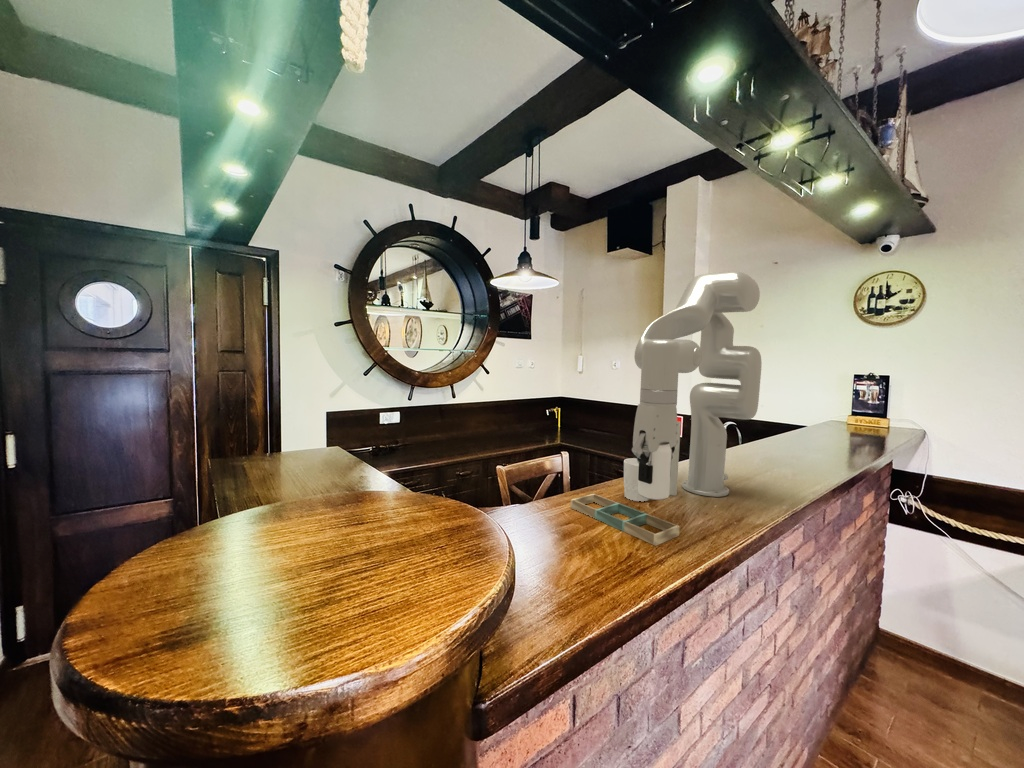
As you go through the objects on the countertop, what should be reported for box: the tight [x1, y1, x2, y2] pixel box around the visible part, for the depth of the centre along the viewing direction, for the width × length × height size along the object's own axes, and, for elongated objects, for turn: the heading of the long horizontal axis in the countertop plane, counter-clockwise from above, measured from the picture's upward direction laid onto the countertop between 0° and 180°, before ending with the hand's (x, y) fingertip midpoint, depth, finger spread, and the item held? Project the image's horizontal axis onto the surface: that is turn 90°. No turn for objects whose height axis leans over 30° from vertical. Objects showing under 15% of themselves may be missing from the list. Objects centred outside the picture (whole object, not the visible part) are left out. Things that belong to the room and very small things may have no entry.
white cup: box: [623, 457, 650, 503], centre depth 114 cm, size 8×8×10 cm
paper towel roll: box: [669, 420, 682, 496], centre depth 119 cm, size 7×6×21 cm
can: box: [638, 442, 671, 501], centre depth 91 cm, size 6×6×12 cm
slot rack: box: [570, 493, 681, 547], centre depth 98 cm, size 9×25×2 cm, turn 37°
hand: (654, 478), depth 91 cm, fingers closed on can, 5 cm apart
